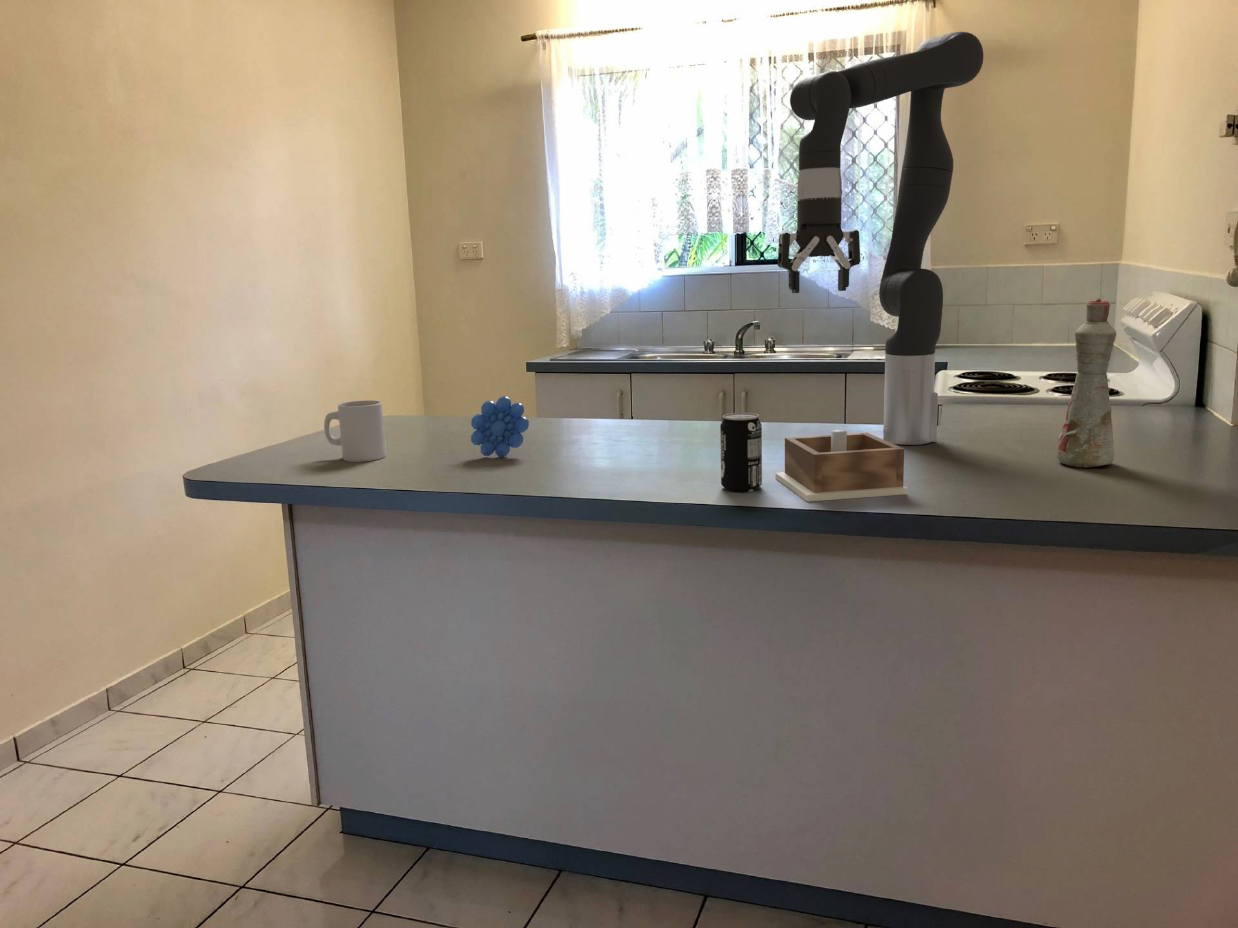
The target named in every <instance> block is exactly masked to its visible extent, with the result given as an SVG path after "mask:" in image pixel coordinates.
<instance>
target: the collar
mask: <svg viewBox="0 0 1238 928" xmlns="http://www.w3.org/2000/svg"><path fill="white" fill-rule="evenodd" d="M904 469H905V448H904V447H901V446H899V445H898V444H893V443H890V442H888V441H885V440H883V438H880V437H879V436H877V435H875V434H874V435H873V434H871V433H869V432H856V433H854V432H853V433H847V446H846V451H838V452H831V434H825V435H812V436H811V435H810V436H809V435H808V436H793V437H784V472H785V474H787V475H788V476H790V477H791V478H793V479H794V480H796V481H797V482H799V483H800V484H801V485H803V486H804V487H806V488H807V489H809V490H810V491H812V492H813V493H823V492H836V491H850V490H864V489H878V488H892V487H903V486H904V473H905V470H904Z"/></svg>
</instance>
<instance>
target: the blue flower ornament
mask: <svg viewBox="0 0 1238 928" xmlns="http://www.w3.org/2000/svg"><path fill="white" fill-rule="evenodd" d="M523 414H525V407H524V405H523V404H522V403H521V402H514V403H512V400H511V399H510V398H509V396H505V395H504V396H500V397H499V398H498V399H497V401H496V403H495V402H494V401H493V400H486V401H485V402H484V403H483V404H482V405H481V407H480V413H477V414H475V415H474V416H473V417H472V418H471V420H470V422H471V423H470V424H471V427H472V429H473V430H474V431H473V432H472V433H471V436H470V441H471V443H472V444H473V445H474V446H480V453H481V455H483V456H484V457H491V455H493V454H494V453H495V454H496V456H497V457H499V458H504V457H507V456H508V455H509V453H510V451H511V449H512V448H513V449H517V448H519V447H521V446H522V444H523V443H524V435H523V433H524V432H526V431H527V430H528V429H529V424H530V422H529V420H528V418H527V417H525V416H523Z"/></svg>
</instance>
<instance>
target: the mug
mask: <svg viewBox="0 0 1238 928" xmlns="http://www.w3.org/2000/svg"><path fill="white" fill-rule="evenodd" d="M337 406H338V407H337V410H336V411H331V412H329V413H327V414H326V415H325V418H324V422H323V423H324V424H323V426H324V427H323V428H324V429H323V430H324V435H325V438H326V440H327V442H328V443H329V444H330V445H333V446H337V447H338V446H341V453H342V454H341V455H342V459H343V461H345V462H351V463H360V462H361V463H363V462H372V461H377V460H381V459H384V458H385V457H387V448H386V447H387V445H386V435H385V425H384V416H383V414H384V413H383V403H382V401H380V400H356V401H353V400H352V401H347V402H341V403H339V404H338V405H337ZM332 420H337V421H338V422H339V423H338V424H339V431H340V437H335V436H333V435H332V432H331V427H330V426H331V425H330V424H331V421H332Z"/></svg>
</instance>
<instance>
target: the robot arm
mask: <svg viewBox="0 0 1238 928" xmlns="http://www.w3.org/2000/svg"><path fill="white" fill-rule="evenodd" d="M983 64H984V48H983V45H982V43H981V41H980V40H979V38H978V36H976V35H974V34H973V33H971V32H967V31H955V32H950V33H947V34H942V35H938V36H933V37H930V38H927V39H925V40H924V41H922V42H921V43H920V44H919V45H918V46H917V49H916V50H915V51H914V52H909V53H902V54H897V55H894V56H893V55H892V56H887V57H882V58H881V57H880V58H876V59H872V60H868V61H864V62H859V63H857V64H853V65H851V66H849V67H846V68H844V69H843V68H842V69H841V70H829V71H825V72H822V73H818V74H815V75H811V76H808V77H804V78H802V79H800V80H799V81H798V82H797V83H796V84H795V85H794V87H793V88H792V90H791V91H790V92H791V93H790V96H789V105H790V108H791V110H792V112H793V114H794V115H796V116H797V118H799V119H802V120H805V121H813V126H812V129H811V131H809V133H808V132H807V134H805V135H804V136H802V137H801V139H800V141H799V146H798V150H799V151H798V177H797V178H798V179H797V190H796V191H797V193H796V195H797V203H796V205H797V206H796V207H797V209H796V210H797V214H796V217H797V219H796V220H797V222H796V224H797V225H796V226H797V229H796V231H795V233H789V232H781V233H780V234H779V236H778V251H777V267H778V268H780V269H784V270H786V271H787V272H788V289H789V291H791V293H792V294H799V293H800V273H801V272H800V271H798V270H799V269H800V267H801V266H802V264H803V263H804V262H805V261H806V260H807V258H816V257H817V258H818V257H830V258H831V259H832V260H833V261H834V262H835V264H836V265H837V266H838V268H839V269H838V270H837V291H838V292H846V290H847V288H849V286H850V270H851V268H852V267H854V266H858V265H860V263H861V244H860V231H859V230H858V229H852V230H848V231H843V229H842V203H843V202H842V201H843V200H842V195H843V187H842V186H843V181H842V174H841V173H842V172H841V171H842V170H841V161H842V160H841V157H842V156H841V155H842V154H841V152H842V151H841V150H842V149H841V146H842V145H841V144H842V140H843V137H844V133H845V130H846V125H847V121H848V117H849V112H850V109H857V108H863V107H866V106H870V105H873V104H876V103H877V104H878V103H879V102H883V101H885V100H888V99H892V98H895V97H897V96H901V95H903V94H904V95H905V94H906V93H910V101H909V102H910V103H909V116H908V127H907V133H906V140H905V141H906V143H905V149H904V156H903V160H902V165H901V166H902V167H901V173H900V178H899V179H900V180H899V186H898V192H897V193H898V195H897V202H896V209H895V215H894V220H893V226H892V232H891V238H890V243H889V247H888V252H887V255H886V260H885V264H884V268H883V271H882V275H881V279H880V283H879V290H878V297H879V302H880V305H881V308H882V309H883V311H884V312H885V313H886V314H888V315H890V316H893V317H898V321H897V322H898V323H897V328H896V331H895V333H894V334H893V335H891V336H889V337H888V338H887V339H886V340H885V351H884V353H885V354H884V356H885V357H884V393H883V394H884V396H883V399H884V402H883V403H884V404H883V430H882V431H883V432H882V433H883V436H882V437H883V438H882V439H883V440H885V441H888V442H890V443H892V444H895V445H901V446H902V445H904V446H905V445H906V446H907V445H909V446H911V445H912V446H915V445H917V446H918V445H925V444H929V443H930V444H931V443H935V442H937V441H938V440H937V435H938V412H939V411H938V410H939V406H938V405H939V404H938V403H939V402H938V401H939V394H938V392H936V391H935V370H936V369H935V368H936V367H935V364H936V362H935V361H936V346H937V343H938V341H939V339H940V335H941V329H942V320H943V319H942V318H943V307H944V306H943V305H944V290H943V289H944V287H943V285H942V284H943V283H942V281H941V279H940V277H939V275H938V274H937V273H936V272H934V270H931V269H927V268H922V262H923V257H924V251H925V248H926V245H927V241H928V239H929V236H931V235H930V234H931V233H932V231H933V230H934V227H935V226H936V224H937V222H938V221H939V219H940V216H942V213H943V211H944V210H945V208H946V205H947V203H948V200H949V197H950V196H949V195H950V191H951V184H952V181H953V180H952V178H953V174H954V173H953V172H954V158H953V152H952V150H951V147H950V144H949V141H948V139H947V135H946V133H945V131H944V128H943V124H942V123H943V122H942V105H943V99H944V98H943V97H944V92H945V90H946V89H951V88H957V87H961V86H964V85H965V84H968V83H970V82H972V81H973V80H974V79H975V78H976V77H977V76H978V74H979V73H980V72H981V69H982V67H983ZM843 240H844V242H845V243H846V244H847V256H848V258H847V257H846V255H845V253H844V251H843V250H842V248H841V247H840V244H841V242H842V241H843ZM794 241H795V242H796V243H797V245H798V246H799V248H798V250H797V251H796V252H795V254H794V255H793V258H792V260H791V261H790V262H789V260H790V247H791V246H792V245H793V244H794Z"/></svg>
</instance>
